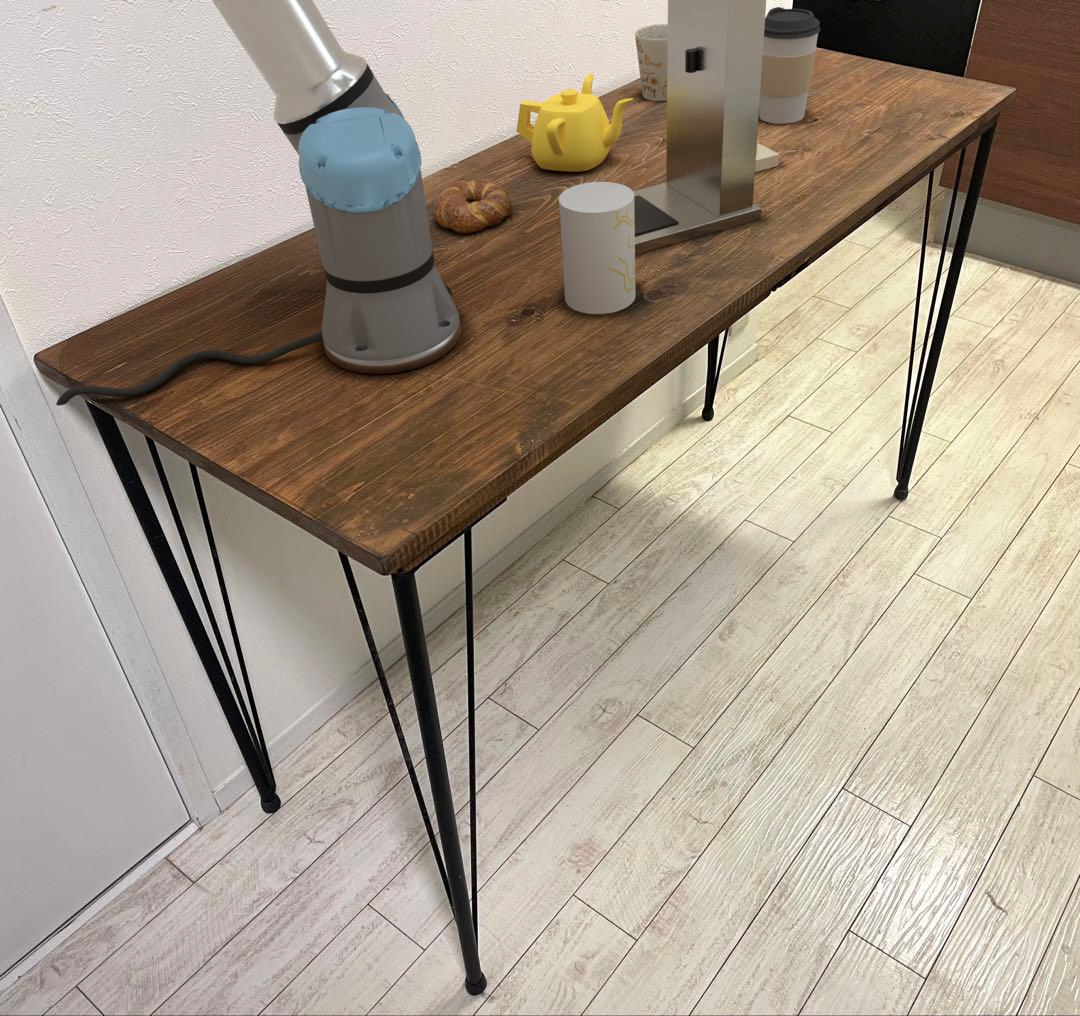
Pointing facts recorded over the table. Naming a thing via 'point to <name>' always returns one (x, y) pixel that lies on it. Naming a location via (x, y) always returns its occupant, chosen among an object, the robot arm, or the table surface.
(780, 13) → the coffee cup
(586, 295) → the cup
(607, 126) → the teapot
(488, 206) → the pretzel
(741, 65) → the coffee machine
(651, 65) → the mug
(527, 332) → the table surface
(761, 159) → the cream triangular wedge
